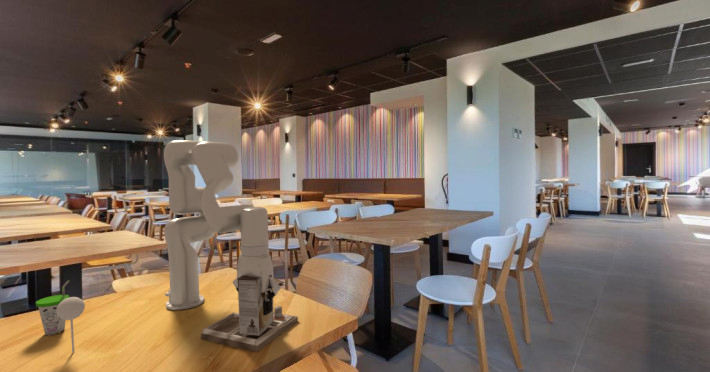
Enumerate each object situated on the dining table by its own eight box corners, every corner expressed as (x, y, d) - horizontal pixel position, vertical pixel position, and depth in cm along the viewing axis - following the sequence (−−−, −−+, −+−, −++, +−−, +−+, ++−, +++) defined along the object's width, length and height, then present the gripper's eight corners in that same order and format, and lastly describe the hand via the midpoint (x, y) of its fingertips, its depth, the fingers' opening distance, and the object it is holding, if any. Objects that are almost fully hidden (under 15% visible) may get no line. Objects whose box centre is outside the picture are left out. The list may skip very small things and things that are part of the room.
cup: (33, 340, 100) (30, 290, 99) (42, 330, 107) (39, 282, 106) (67, 334, 103) (64, 285, 103) (74, 324, 110) (71, 278, 110)
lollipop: (70, 346, 96) (67, 294, 95) (92, 345, 96) (89, 293, 96) (52, 359, 90) (49, 302, 89) (76, 357, 90) (73, 301, 90)
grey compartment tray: (200, 339, 99) (200, 322, 99) (247, 312, 117) (247, 297, 117) (256, 352, 91) (256, 333, 91) (297, 321, 110) (297, 305, 109)
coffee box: (254, 320, 104) (253, 268, 104) (274, 321, 103) (273, 269, 102) (238, 334, 96) (236, 277, 95) (259, 336, 94) (258, 278, 93)
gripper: (221, 251, 98) (223, 311, 99) (272, 256, 91) (273, 321, 92) (240, 245, 105) (242, 302, 106) (288, 250, 98) (289, 310, 99)
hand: (256, 310), depth 99 cm, fingers closed on coffee box, 7 cm apart
